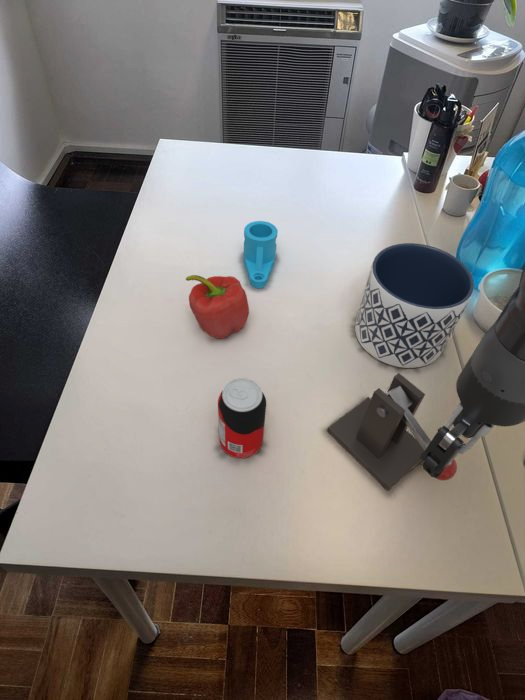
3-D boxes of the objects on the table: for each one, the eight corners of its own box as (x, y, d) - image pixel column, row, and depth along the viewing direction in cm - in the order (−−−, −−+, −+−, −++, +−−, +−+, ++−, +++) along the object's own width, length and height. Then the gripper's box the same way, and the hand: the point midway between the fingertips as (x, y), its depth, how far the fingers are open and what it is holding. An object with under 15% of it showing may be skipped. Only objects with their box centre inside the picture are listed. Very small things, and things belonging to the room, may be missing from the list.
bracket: (275, 251, 99) (277, 221, 93) (274, 289, 91) (277, 259, 85) (244, 249, 99) (244, 220, 93) (241, 287, 91) (241, 258, 85)
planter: (445, 316, 88) (475, 255, 77) (440, 380, 78) (474, 320, 67) (362, 296, 91) (379, 234, 80) (346, 355, 81) (364, 293, 70)
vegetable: (178, 336, 82) (172, 293, 74) (201, 298, 88) (198, 255, 81) (237, 353, 80) (237, 311, 72) (256, 312, 86) (258, 270, 79)
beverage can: (255, 466, 66) (259, 420, 57) (213, 454, 67) (210, 407, 58) (267, 429, 70) (272, 381, 61) (227, 418, 71) (226, 369, 62)
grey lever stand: (427, 454, 69) (459, 405, 59) (387, 491, 65) (414, 445, 55) (366, 401, 75) (386, 348, 65) (326, 431, 71) (341, 380, 61)
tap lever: (449, 471, 62) (468, 468, 59) (432, 487, 61) (451, 485, 58) (390, 388, 64) (406, 381, 61) (373, 402, 62) (388, 395, 59)
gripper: (506, 436, 40) (441, 510, 52) (583, 358, 47) (509, 440, 59) (435, 380, 44) (390, 461, 56) (516, 315, 50) (459, 401, 62)
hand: (451, 451), depth 57 cm, fingers open, 8 cm apart
